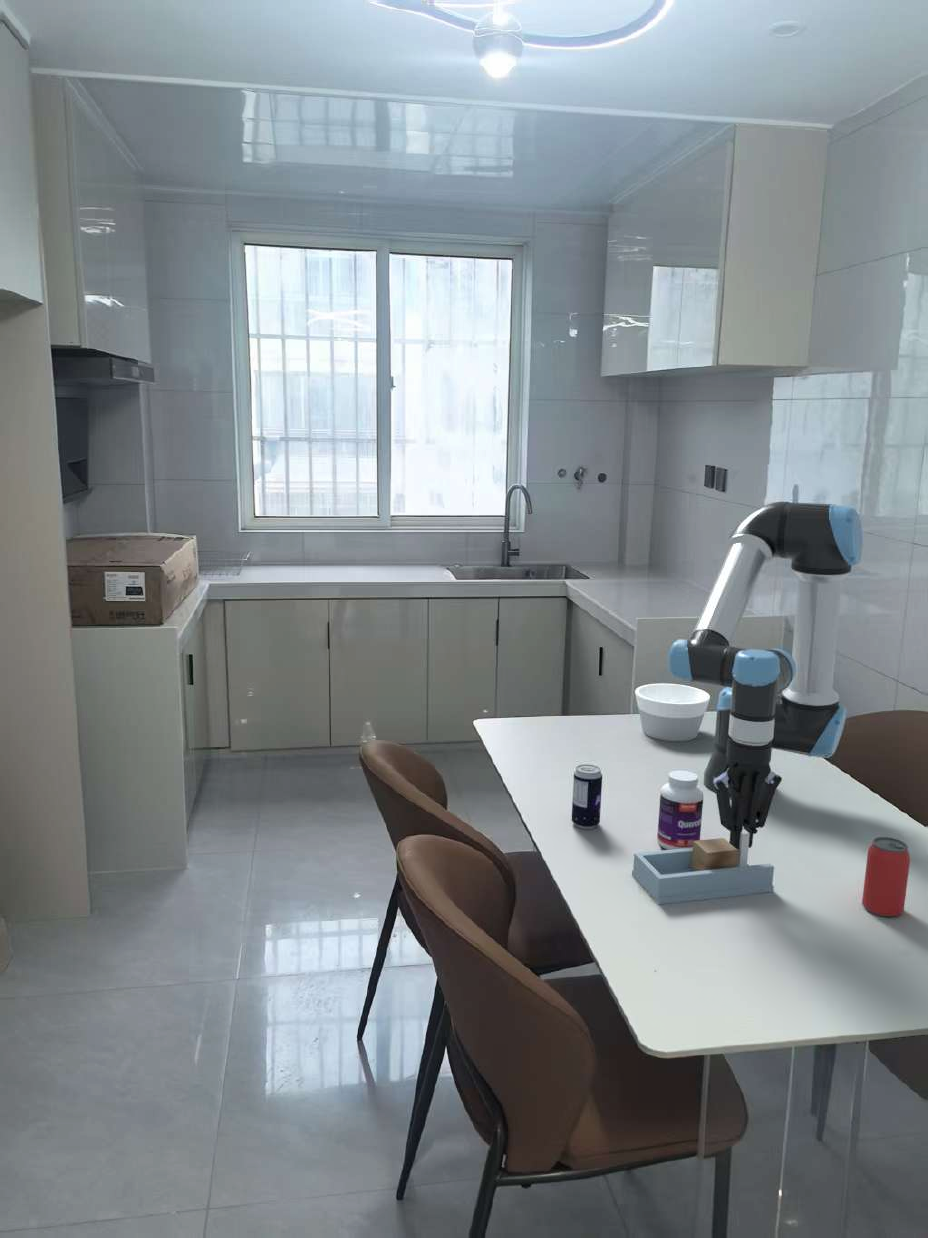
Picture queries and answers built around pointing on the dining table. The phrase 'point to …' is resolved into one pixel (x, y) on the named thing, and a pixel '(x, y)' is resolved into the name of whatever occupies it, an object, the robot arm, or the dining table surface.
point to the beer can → (886, 877)
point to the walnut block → (713, 855)
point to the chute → (696, 877)
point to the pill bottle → (680, 811)
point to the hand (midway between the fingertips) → (739, 864)
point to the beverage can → (586, 796)
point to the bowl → (671, 710)
